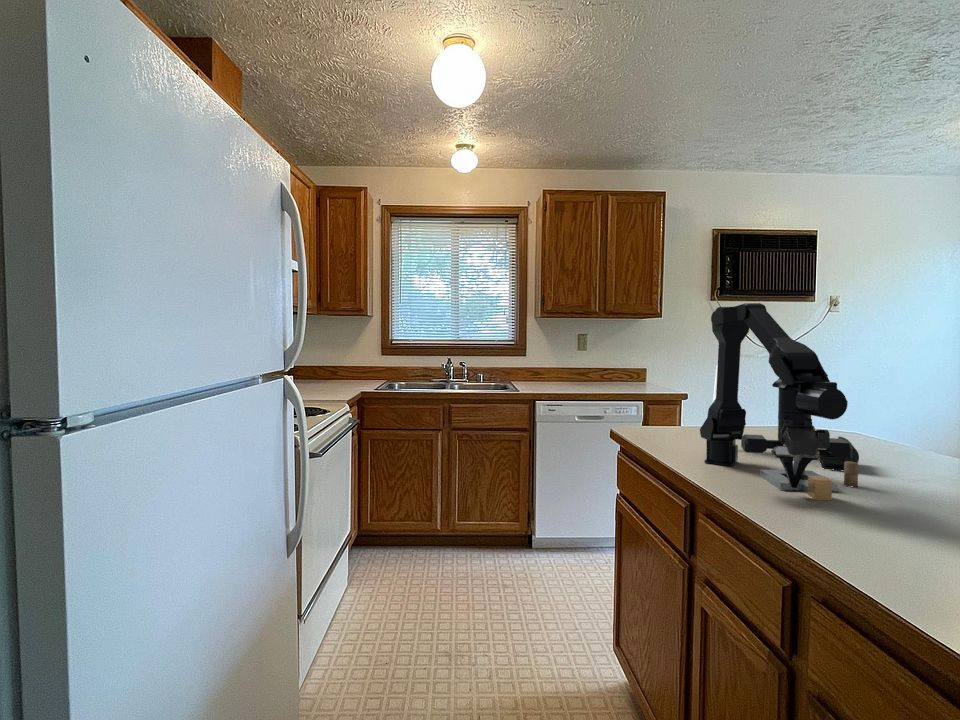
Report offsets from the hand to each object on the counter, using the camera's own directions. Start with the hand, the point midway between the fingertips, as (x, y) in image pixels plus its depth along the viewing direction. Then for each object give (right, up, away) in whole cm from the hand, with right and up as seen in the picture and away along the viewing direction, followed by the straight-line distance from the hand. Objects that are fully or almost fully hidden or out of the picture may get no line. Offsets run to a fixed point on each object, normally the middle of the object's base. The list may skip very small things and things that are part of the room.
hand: (793, 487), depth 105 cm
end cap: (+24, -1, +22) cm, 33 cm away
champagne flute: (+6, 0, +42) cm, 43 cm away
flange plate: (+5, -1, +5) cm, 8 cm away
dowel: (+16, -1, +6) cm, 17 cm away
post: (+6, -1, +8) cm, 10 cm away
